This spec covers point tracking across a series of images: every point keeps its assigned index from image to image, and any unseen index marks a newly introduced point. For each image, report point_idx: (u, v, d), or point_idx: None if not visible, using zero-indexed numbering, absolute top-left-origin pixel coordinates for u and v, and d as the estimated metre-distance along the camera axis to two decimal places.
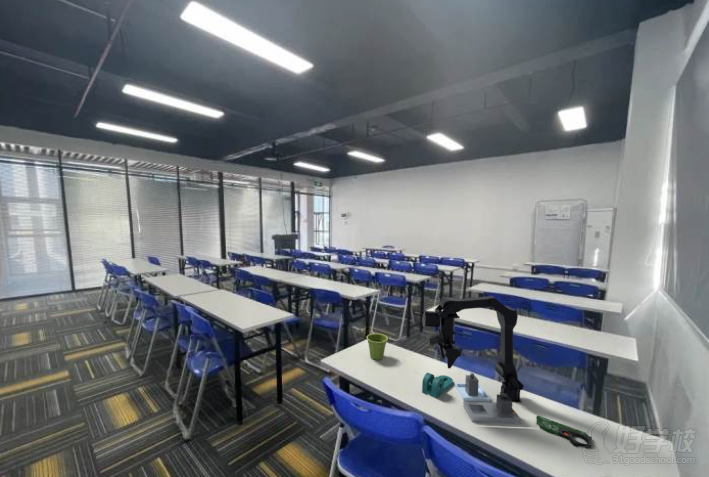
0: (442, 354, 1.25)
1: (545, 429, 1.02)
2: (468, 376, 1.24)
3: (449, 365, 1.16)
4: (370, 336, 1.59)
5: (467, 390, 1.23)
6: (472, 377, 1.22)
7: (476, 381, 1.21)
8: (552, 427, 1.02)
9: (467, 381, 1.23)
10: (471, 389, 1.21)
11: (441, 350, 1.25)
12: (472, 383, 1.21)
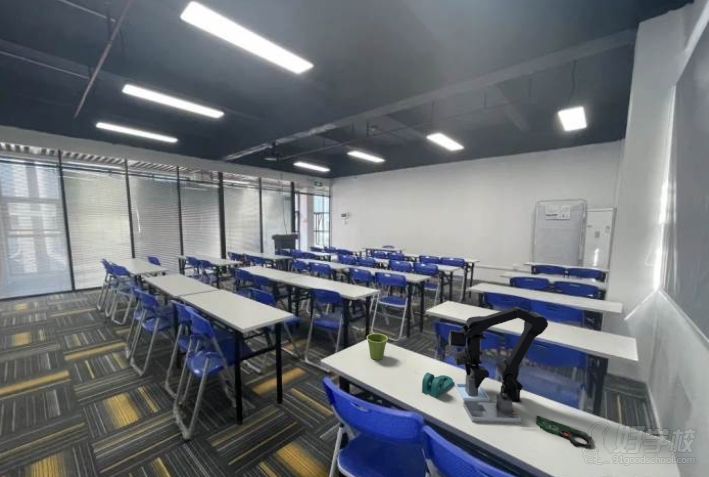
0: (467, 373, 1.27)
1: (545, 429, 1.02)
2: (468, 376, 1.24)
3: (476, 385, 1.18)
4: (370, 336, 1.59)
5: (467, 390, 1.23)
6: (472, 377, 1.22)
7: None
8: (552, 427, 1.02)
9: (467, 381, 1.23)
10: (471, 389, 1.21)
11: (466, 369, 1.28)
12: (472, 383, 1.21)
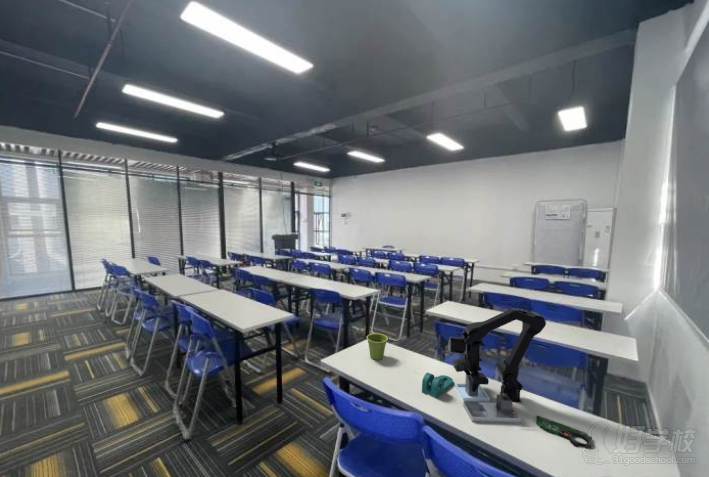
0: None
1: (545, 429, 1.02)
2: None
3: (474, 389, 1.20)
4: (370, 336, 1.59)
5: (467, 390, 1.23)
6: None
7: None
8: (552, 427, 1.02)
9: (467, 381, 1.23)
10: (471, 389, 1.21)
11: None
12: None
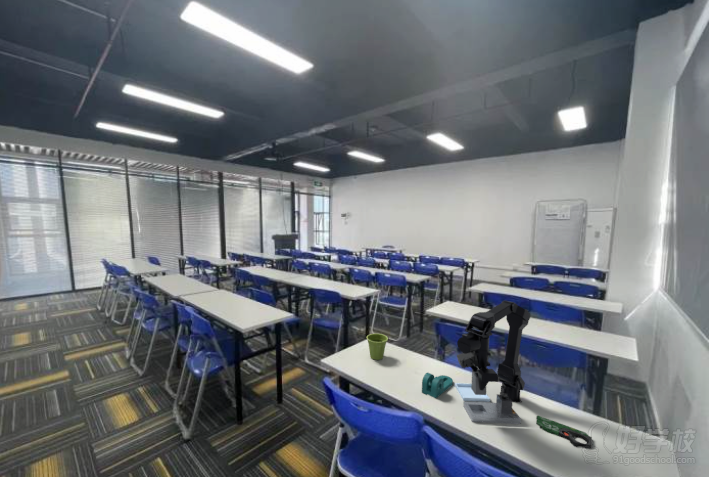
0: None
1: (545, 429, 1.02)
2: None
3: (481, 387, 1.06)
4: (370, 336, 1.59)
5: (474, 389, 1.08)
6: None
7: None
8: (552, 427, 1.02)
9: (474, 378, 1.09)
10: (478, 387, 1.07)
11: None
12: None
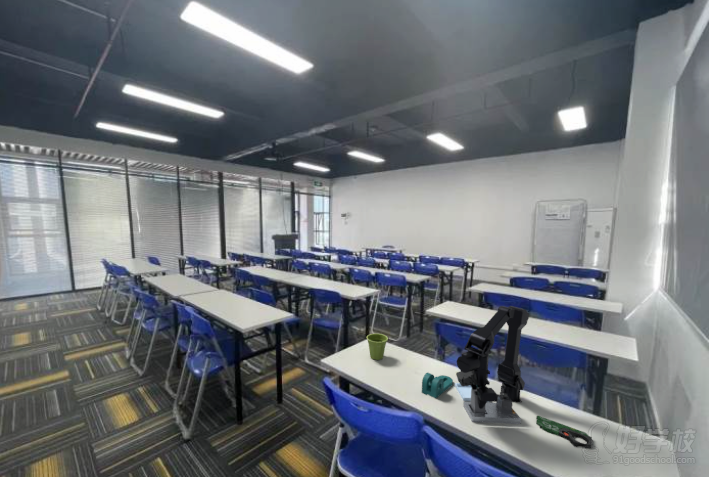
0: None
1: (545, 429, 1.02)
2: (474, 390, 1.10)
3: (481, 405, 1.06)
4: (370, 336, 1.59)
5: (473, 407, 1.09)
6: None
7: None
8: (552, 427, 1.02)
9: (473, 396, 1.09)
10: (477, 405, 1.07)
11: None
12: None
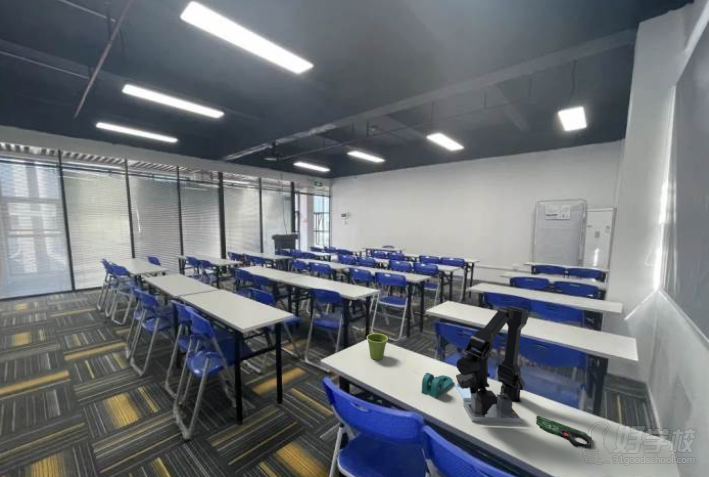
0: None
1: (545, 429, 1.02)
2: (474, 395, 1.10)
3: (483, 412, 1.04)
4: (370, 336, 1.59)
5: (473, 411, 1.09)
6: None
7: None
8: (552, 427, 1.02)
9: (473, 401, 1.09)
10: (477, 410, 1.07)
11: (471, 391, 1.14)
12: (478, 403, 1.07)
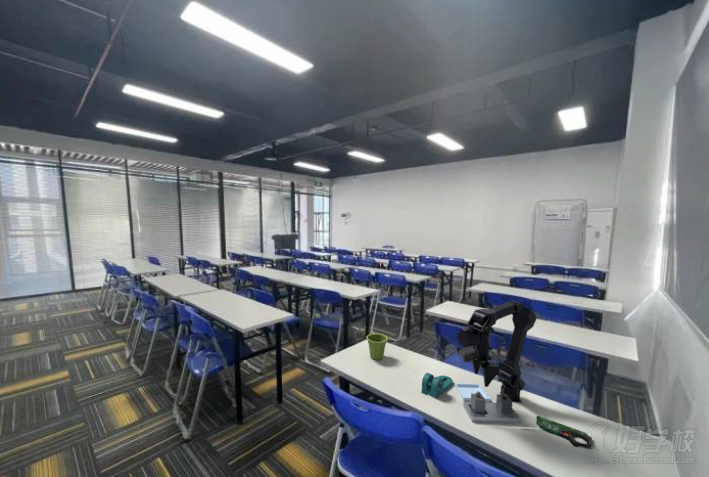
0: (475, 370, 1.17)
1: (545, 429, 1.02)
2: (474, 395, 1.10)
3: (486, 383, 1.08)
4: (370, 336, 1.59)
5: (473, 411, 1.09)
6: (478, 396, 1.08)
7: (483, 401, 1.07)
8: (552, 427, 1.02)
9: (473, 401, 1.09)
10: (477, 410, 1.07)
11: (474, 366, 1.17)
12: (478, 403, 1.07)
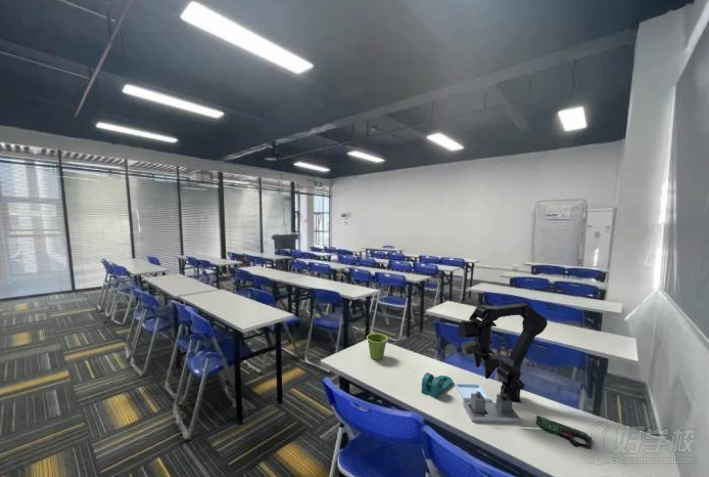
0: (477, 363, 1.22)
1: (545, 429, 1.02)
2: (474, 395, 1.10)
3: (487, 375, 1.12)
4: (370, 336, 1.59)
5: (473, 411, 1.09)
6: (478, 396, 1.08)
7: (483, 401, 1.07)
8: (552, 427, 1.02)
9: (473, 401, 1.09)
10: (477, 410, 1.07)
11: (476, 359, 1.22)
12: (478, 403, 1.07)
